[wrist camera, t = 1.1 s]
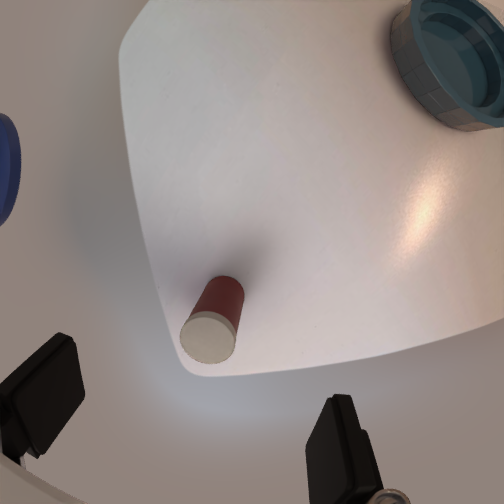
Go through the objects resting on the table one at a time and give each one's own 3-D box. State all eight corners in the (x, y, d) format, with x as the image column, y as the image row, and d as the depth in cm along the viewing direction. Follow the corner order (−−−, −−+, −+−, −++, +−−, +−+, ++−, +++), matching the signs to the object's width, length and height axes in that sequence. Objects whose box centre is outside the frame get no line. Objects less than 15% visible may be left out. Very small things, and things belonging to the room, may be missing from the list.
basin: (361, 57, 23) (381, 33, 17) (421, -10, 19) (441, -33, 13) (467, 160, 24) (501, 160, 18) (509, 79, 21) (538, 71, 15)
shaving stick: (196, 297, 30) (170, 343, 21) (219, 267, 29) (198, 306, 20) (229, 320, 30) (214, 372, 22) (253, 291, 29) (246, 339, 21)
